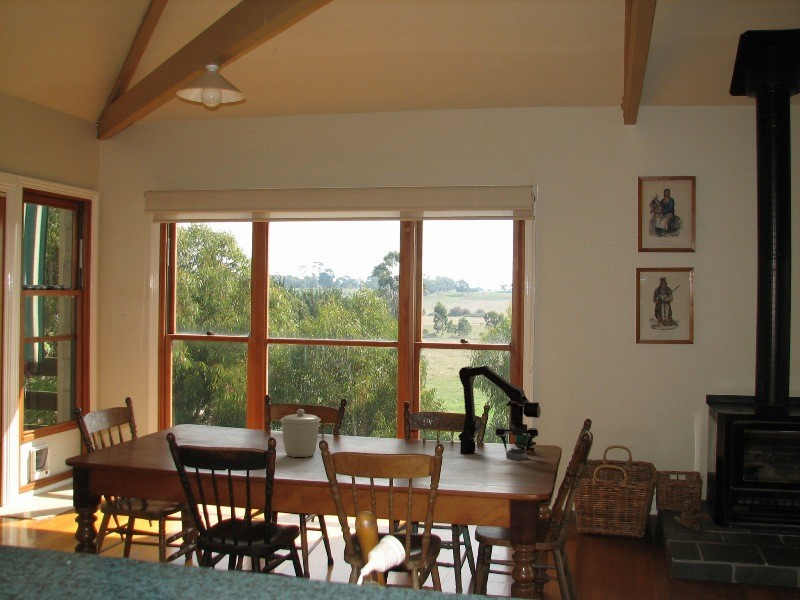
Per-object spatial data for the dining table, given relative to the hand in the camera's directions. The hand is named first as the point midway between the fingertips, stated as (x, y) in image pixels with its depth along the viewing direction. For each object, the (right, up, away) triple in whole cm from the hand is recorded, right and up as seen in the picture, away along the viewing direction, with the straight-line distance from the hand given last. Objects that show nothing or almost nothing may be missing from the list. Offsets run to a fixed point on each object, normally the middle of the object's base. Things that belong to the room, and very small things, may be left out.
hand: (516, 450), depth 337 cm
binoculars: (+6, -3, +14) cm, 16 cm away
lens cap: (0, -3, 0) cm, 3 cm away
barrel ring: (0, -3, 0) cm, 3 cm away
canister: (-97, -3, +2) cm, 97 cm away
